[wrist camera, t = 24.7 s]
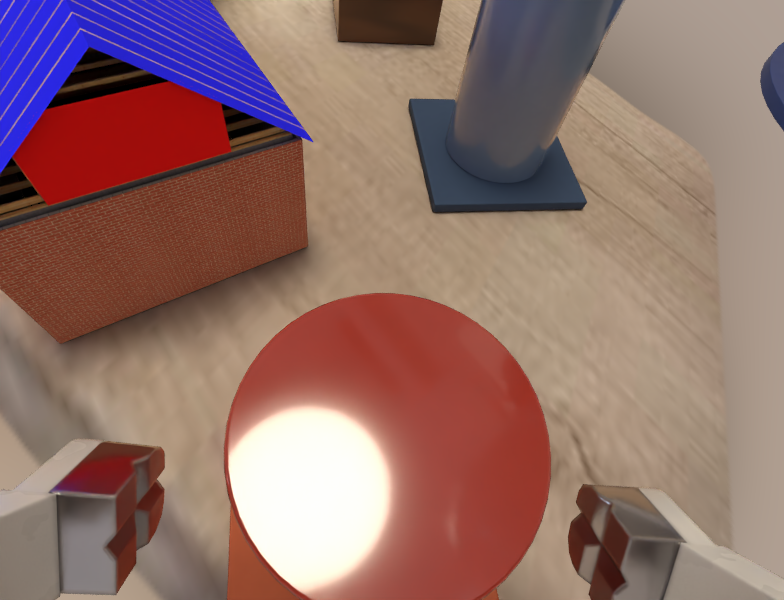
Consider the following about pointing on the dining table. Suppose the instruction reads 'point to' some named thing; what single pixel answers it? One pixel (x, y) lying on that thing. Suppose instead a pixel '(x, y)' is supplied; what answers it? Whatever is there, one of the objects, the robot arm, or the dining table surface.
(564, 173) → the blue mat
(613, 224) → the dining table surface
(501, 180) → the blue canister
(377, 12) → the riser
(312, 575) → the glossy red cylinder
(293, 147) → the house
